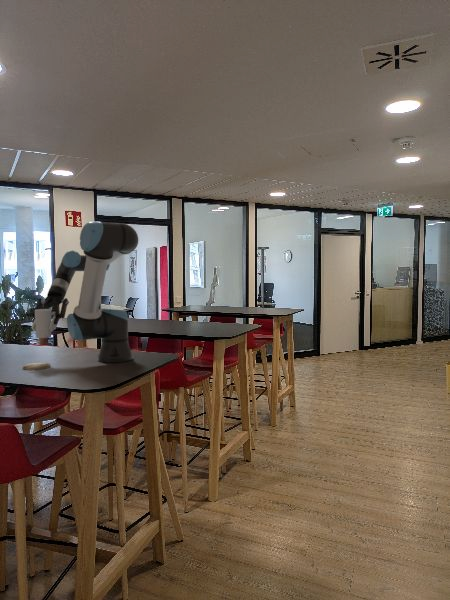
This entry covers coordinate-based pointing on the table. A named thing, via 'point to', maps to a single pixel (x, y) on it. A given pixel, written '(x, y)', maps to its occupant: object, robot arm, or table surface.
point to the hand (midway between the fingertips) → (42, 329)
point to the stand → (36, 366)
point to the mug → (43, 322)
